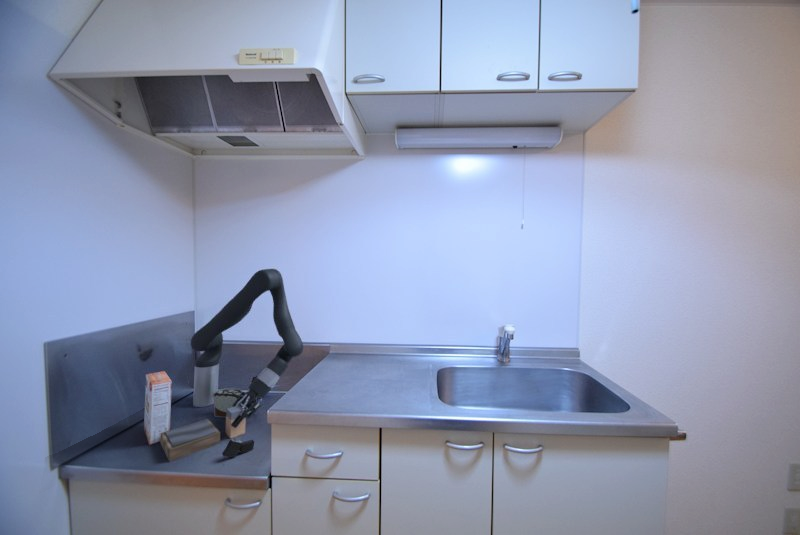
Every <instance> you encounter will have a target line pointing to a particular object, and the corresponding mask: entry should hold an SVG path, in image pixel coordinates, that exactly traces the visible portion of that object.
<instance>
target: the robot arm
mask: <svg viewBox="0 0 800 535" xmlns="http://www.w3.org/2000/svg"><path fill="white" fill-rule="evenodd" d="M281 273H282V272H280V271H279V270H278V269H276V268H265V269H260V270H258V271H256V272H255V273H253V275H252V276H251V277H250V279H249V281H247V283H246V284H245V285H244V286H243V287H242V288H241V290H240V291H239V292H238V293H237V294H235V295H234V296H233V298H231V299H230V300H229V301H228V302H227V303H226V304H225V305H224V306H223V307H222V308H221V309H220V311H219V312H217V313H216V314H215V315H214V316H213V317H212V318H211V320H209V321H208V322H207V323H206V324H205V325H203V326H202V327H201V328H199V329H198V330H197V331H196V332H195V333H194V334H192V338H191V339H190V346H191V349H193V351H195V352H203V353H201V355H199V356H198V357H197V358H196V359H195V360H194V380H193V396H192V406H193V407H195V408H202V407H203V408H204V407H208V406H212V405H214V397H212V396H213V393H214V392H215V391H217V390H219V371H220V361H221V357H222V350H223V345H224V344H223V343H224V336H223V332H225V331H227V330H229V329H231V328H232V327H234V326H236V325H238V323H240V322H241V321H242V320H244V318H245V317H247V315H248V314H249V313H250V312H251V309H252V307H253V304H254V302H255V301H256V300H257V299H258V298H259V297H260V296H261V295H262V294H264V293H266V292H270V295H271V297H272V304H273V310H272V311H273V312H272V313H273V314H272V316H273V322H274V325H275V328H276V331H277V333H278V335H279V337H281V338H282V341H283V343H284V344H283V345H282V346H281V347H280V348H279V350H278V352H277V353H276V354H275V356H274V357H273V359H272V360H270V362H269V363H268V364H267V365H266V367H265V368H264V369H263V370H262V371H261V372H260V373H259V374H258V375H257V376H256V377H255V378H254V380H253V381H252V382H251V383H250V384H249V386H248V389H249V390H247V392H244V391H242V393H241V394H240V395H239V397H238V398H237V400H236V401H235V402H234V404H233V405H232V406H233V407H234V406H239V405H242V406H243V407H242V411H241V413H240V414H239V415H240V416H239V415H238V416H237V418H236V419H235V420H234V421H233V422H232V424H231V426H233V427H234V428H236V427H237V426H238V425H239V424H240V422H241V421H242V420H243V419H244V418H246V419H250V417H252V415H253V414H254V413H255V412H256V411H257V410H259V409H260V407H261V406H262V404H261V403H260V400H261V398H262V399H265V398H266V396H267V395H268V394H269V392H270V391H271V390H273V387H274V386H275V385H276V384H277V383H278V381H279V379H280V377H282V376H283V374H284V373H285V372H286V370H287V369H288V367H289V363H290V362H291V360H292V359H293V358H295V357H299V356H300V355H302V353H303V350H304V343H303V341H302V338H301V337H300V334H299V333H298V332H297V330H296V327H295V326H296V325H295V324H294V322H293V318H292V315H291V312H290V309H289V305H288V301H287V300H288V299H287V296H286V292H285V284H284V280H283V276H282V274H281ZM238 401H239V402H238ZM237 403H238V404H237ZM245 410H246V411H245ZM244 411H245V412H244Z"/></svg>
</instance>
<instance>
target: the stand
mask: <svg viewBox="0 0 800 535" xmlns="http://www.w3.org/2000/svg"><path fill="white" fill-rule="evenodd" d="M220 443H221V431H219V429H218V428H217V427H216V426H215V425H214V424H213V422H211V421H210V419H209V418H205V419H202V420H200V421H199V420H198V421H196V422H193V423H189V424H186V425H183V426H180V427H176V428H173V429H170V430H169V431H166V432H163V433H161V440H160V442H159V444H160V446H161V447H162V450H163V451H164V454H165V455H166V457H167V459H168V461H169V462H173V461H175V460H179V459H182V458H184V457H186V456H189V455H192V454H194V453H197V452H200V451H202V450H205V449H208V448H210V447H213V446H216V445H219V444H220Z"/></svg>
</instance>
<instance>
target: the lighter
mask: <svg viewBox="0 0 800 535" xmlns="http://www.w3.org/2000/svg"><path fill="white" fill-rule="evenodd" d="M241 438H242V437H241V435H239V436H236V437H233V438H231V439H229V441H228V443H227V445H226V447H225V448H224V450H223V452H222V456H224V457H229V458H236V456H237V454H238V453H239V452H240V453H241V454H242V453H248V452H251V451H252V450H253V449H254V446H255V441H254V439H250V440H249V439H248V440H246V441H245V440H244V441H242V440H241Z"/></svg>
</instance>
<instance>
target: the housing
mask: <svg viewBox="0 0 800 535" xmlns="http://www.w3.org/2000/svg"><path fill="white" fill-rule="evenodd" d="M242 407H243V406H242V405H239V406H234V407H231V408H227V410H226V418H225V434H226V435H227V437H228V438H229V440H231V439H234V438H235V437H237V436H241V435H244V434H246V420H247V418H244V419H243V420H242V421H241V422H240V424H239V425H238V426H237V427H236V428H234V427H233V426H231V424H232V422H233V421H234V420H235V419H236V418H237V416H238V415H239V414H240V413H241V411H242ZM245 411H246V410H245ZM245 411H244V412H245ZM239 416H240V415H239Z"/></svg>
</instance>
